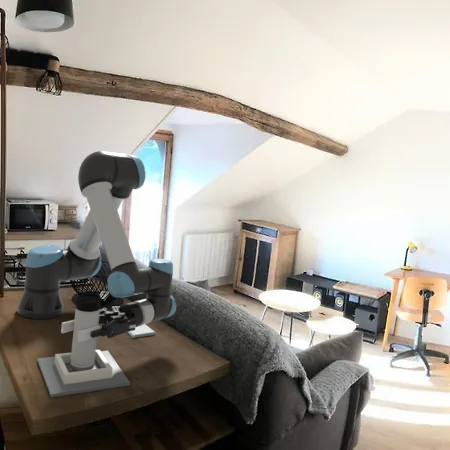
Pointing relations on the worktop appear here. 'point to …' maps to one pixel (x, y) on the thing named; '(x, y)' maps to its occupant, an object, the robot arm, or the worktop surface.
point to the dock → (80, 374)
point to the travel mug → (84, 319)
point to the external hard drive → (141, 331)
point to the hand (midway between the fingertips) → (70, 332)
